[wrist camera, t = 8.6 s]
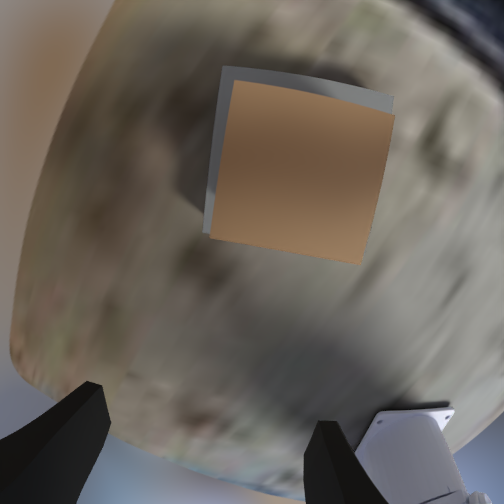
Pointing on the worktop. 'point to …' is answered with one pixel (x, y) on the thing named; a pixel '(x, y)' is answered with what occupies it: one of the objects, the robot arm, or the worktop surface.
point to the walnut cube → (300, 172)
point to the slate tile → (280, 80)
